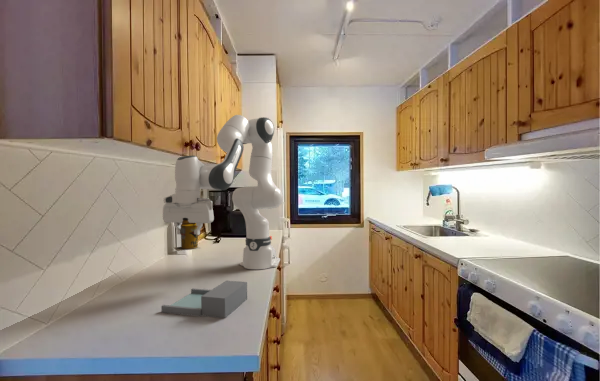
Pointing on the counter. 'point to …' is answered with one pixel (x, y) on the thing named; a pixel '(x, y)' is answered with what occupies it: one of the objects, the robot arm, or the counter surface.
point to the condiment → (188, 236)
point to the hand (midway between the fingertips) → (188, 234)
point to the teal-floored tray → (211, 301)
